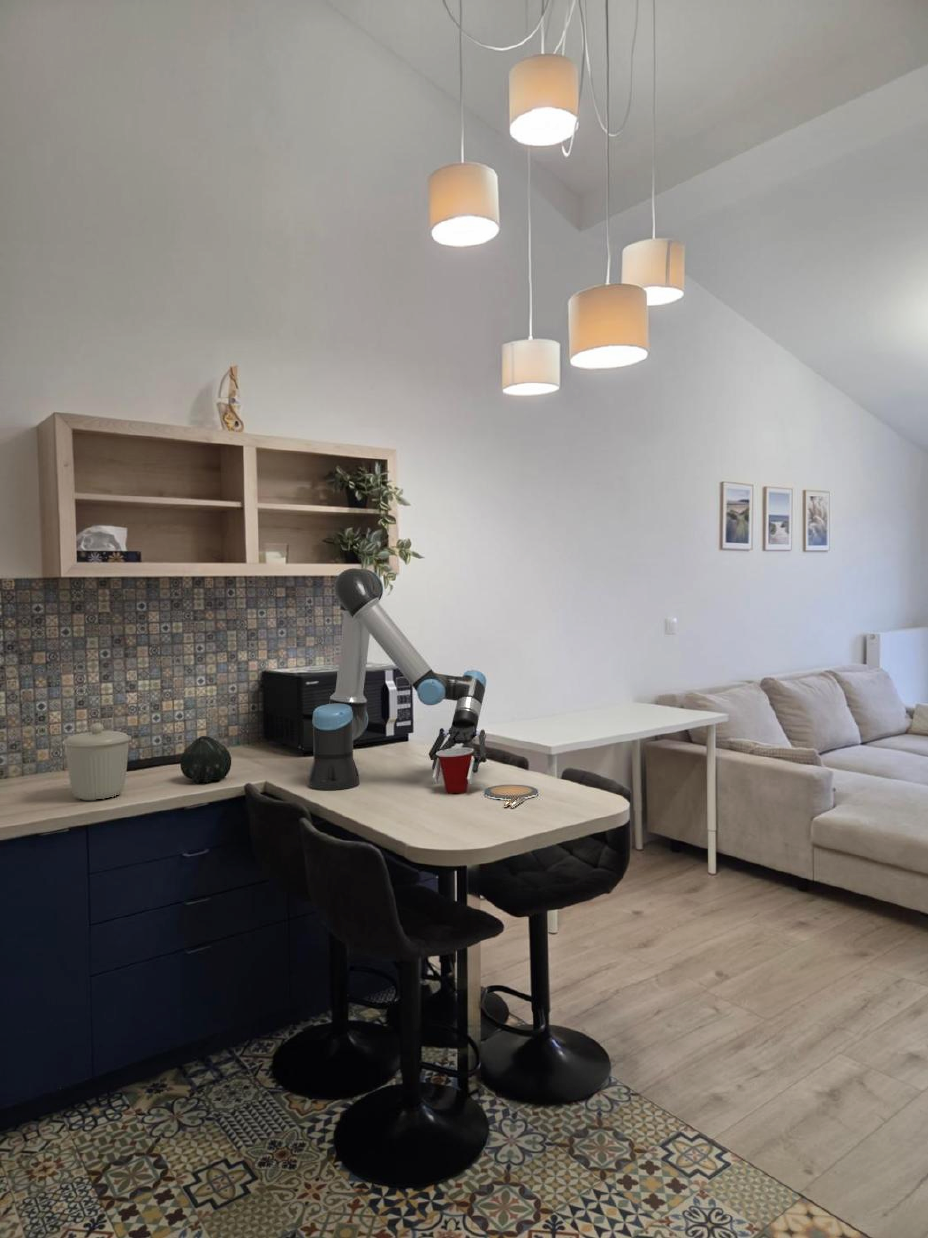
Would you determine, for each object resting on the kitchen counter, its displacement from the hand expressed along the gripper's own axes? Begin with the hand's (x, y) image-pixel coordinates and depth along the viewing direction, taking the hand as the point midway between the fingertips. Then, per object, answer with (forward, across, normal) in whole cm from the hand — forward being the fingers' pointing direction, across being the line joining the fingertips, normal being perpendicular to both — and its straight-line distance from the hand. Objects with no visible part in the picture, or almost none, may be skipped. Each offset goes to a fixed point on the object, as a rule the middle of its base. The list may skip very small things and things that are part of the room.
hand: (452, 780), depth 238 cm
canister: (+20, +98, +14) cm, 101 cm away
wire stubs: (+8, -19, +2) cm, 21 cm away
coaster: (0, -16, -5) cm, 17 cm away
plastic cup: (+1, 0, -5) cm, 5 cm away
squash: (+2, +79, -4) cm, 79 cm away
